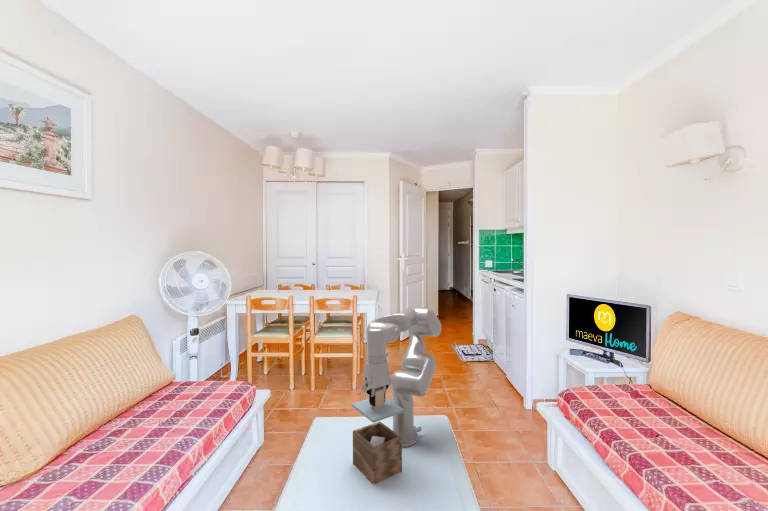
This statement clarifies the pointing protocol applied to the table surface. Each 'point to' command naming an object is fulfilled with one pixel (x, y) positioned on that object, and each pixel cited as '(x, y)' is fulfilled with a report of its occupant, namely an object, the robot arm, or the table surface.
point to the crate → (377, 452)
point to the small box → (377, 440)
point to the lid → (377, 407)
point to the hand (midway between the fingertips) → (377, 403)
